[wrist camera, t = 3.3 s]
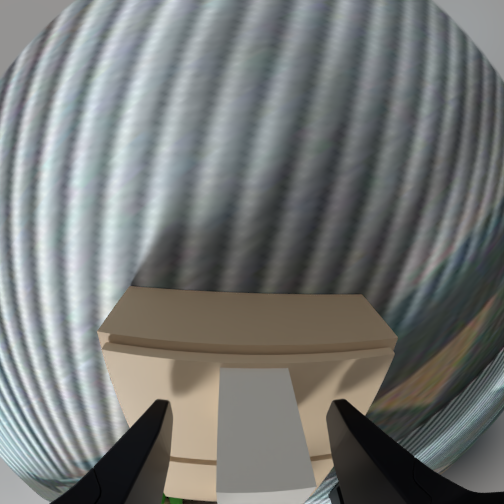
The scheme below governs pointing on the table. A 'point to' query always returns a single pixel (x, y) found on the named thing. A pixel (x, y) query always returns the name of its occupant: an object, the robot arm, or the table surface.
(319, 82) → the table surface
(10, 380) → the table surface
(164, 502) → the kitten
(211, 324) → the carton
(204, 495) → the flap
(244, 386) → the white block
